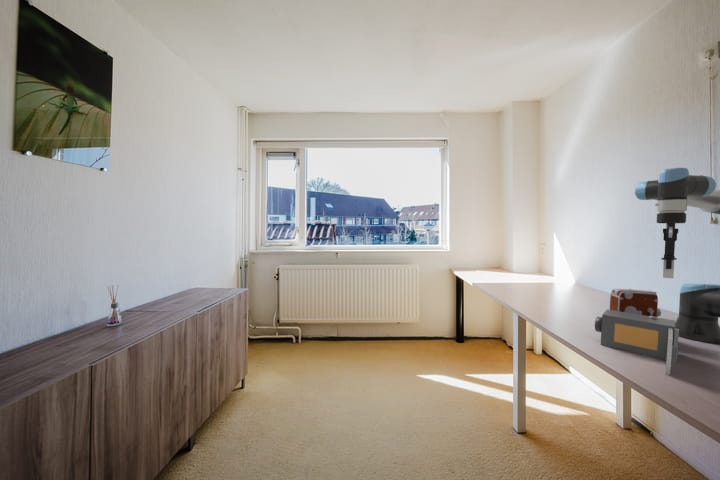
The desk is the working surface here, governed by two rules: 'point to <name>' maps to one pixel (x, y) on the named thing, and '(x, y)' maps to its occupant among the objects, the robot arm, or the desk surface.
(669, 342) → the side door
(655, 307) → the cine camera
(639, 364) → the desk surface
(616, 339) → the grey cabinet with knob
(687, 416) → the desk surface
